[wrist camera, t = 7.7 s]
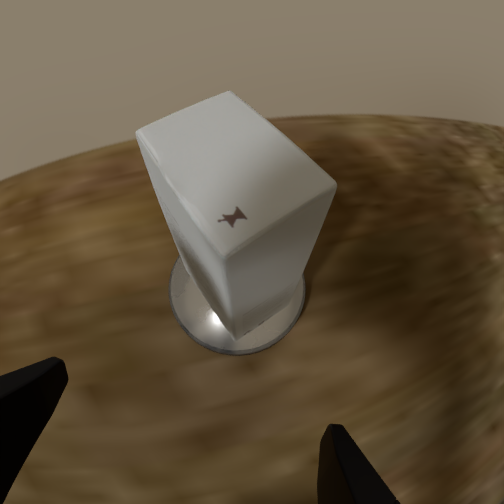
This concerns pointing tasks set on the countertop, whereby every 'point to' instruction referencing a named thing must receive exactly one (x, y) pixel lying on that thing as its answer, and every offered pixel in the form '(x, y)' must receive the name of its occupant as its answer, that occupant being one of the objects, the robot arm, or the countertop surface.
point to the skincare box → (236, 205)
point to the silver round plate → (210, 327)
